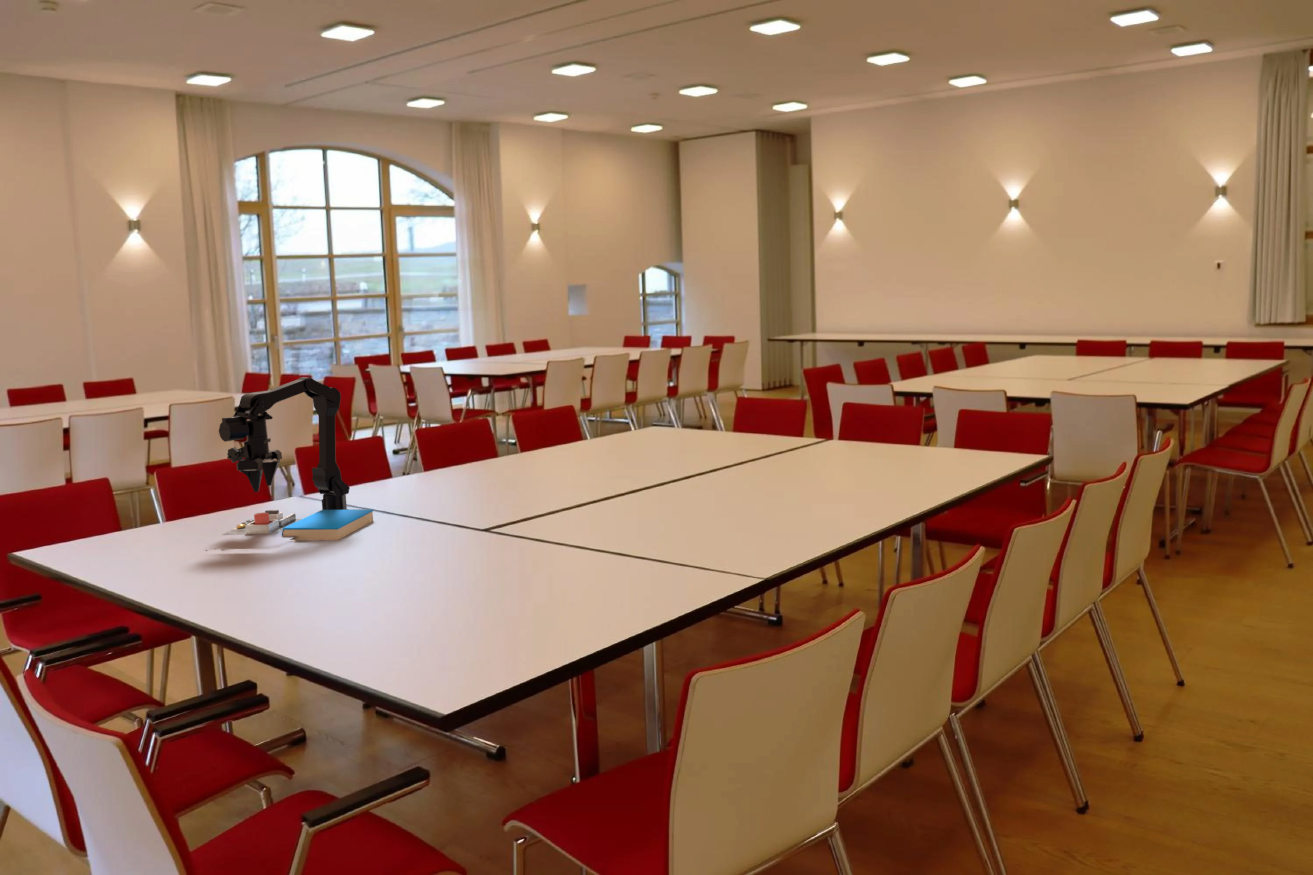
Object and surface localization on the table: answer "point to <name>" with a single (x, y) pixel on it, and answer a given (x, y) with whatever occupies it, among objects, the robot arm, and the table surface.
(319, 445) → the robot arm
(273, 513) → the breaker
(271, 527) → the panel
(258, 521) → the cap
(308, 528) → the book
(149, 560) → the table surface
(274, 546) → the table surface
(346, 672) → the table surface
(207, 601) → the table surface
